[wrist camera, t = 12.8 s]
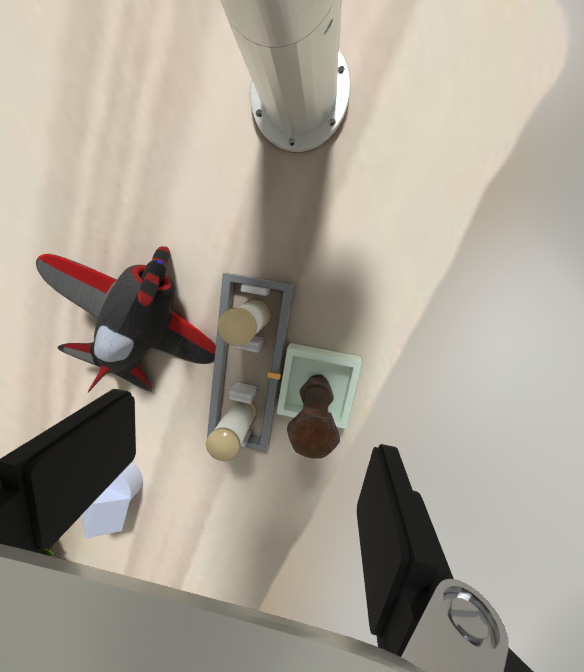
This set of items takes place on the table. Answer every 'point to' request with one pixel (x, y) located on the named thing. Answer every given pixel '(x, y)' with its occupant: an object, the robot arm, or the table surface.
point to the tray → (318, 361)
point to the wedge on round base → (112, 504)
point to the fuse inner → (243, 322)
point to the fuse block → (244, 390)
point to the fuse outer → (231, 431)
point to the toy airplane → (126, 316)
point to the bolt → (314, 420)
